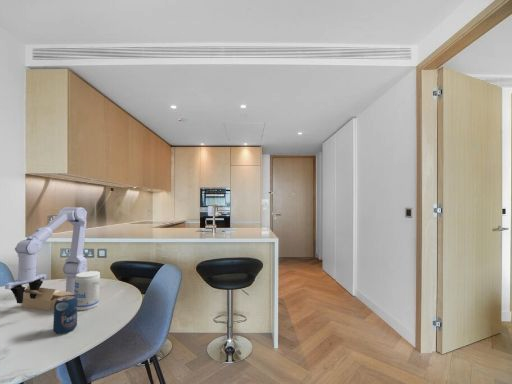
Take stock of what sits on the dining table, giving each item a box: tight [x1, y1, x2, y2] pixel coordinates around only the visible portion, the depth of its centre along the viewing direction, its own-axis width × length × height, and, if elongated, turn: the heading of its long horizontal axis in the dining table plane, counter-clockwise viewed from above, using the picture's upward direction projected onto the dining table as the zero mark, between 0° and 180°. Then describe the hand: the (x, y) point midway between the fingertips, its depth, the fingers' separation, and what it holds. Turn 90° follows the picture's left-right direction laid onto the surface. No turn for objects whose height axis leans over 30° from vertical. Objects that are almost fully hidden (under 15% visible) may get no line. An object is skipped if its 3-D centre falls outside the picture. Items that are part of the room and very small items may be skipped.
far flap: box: [23, 285, 57, 301], centre depth 111 cm, size 5×16×5 cm
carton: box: [21, 289, 72, 311], centre depth 117 cm, size 10×16×4 cm, turn 76°
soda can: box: [52, 295, 78, 336], centre depth 93 cm, size 7×7×12 cm
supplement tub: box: [74, 270, 101, 311], centre depth 115 cm, size 10×10×15 cm
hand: (26, 300), depth 108 cm, fingers open, 4 cm apart
